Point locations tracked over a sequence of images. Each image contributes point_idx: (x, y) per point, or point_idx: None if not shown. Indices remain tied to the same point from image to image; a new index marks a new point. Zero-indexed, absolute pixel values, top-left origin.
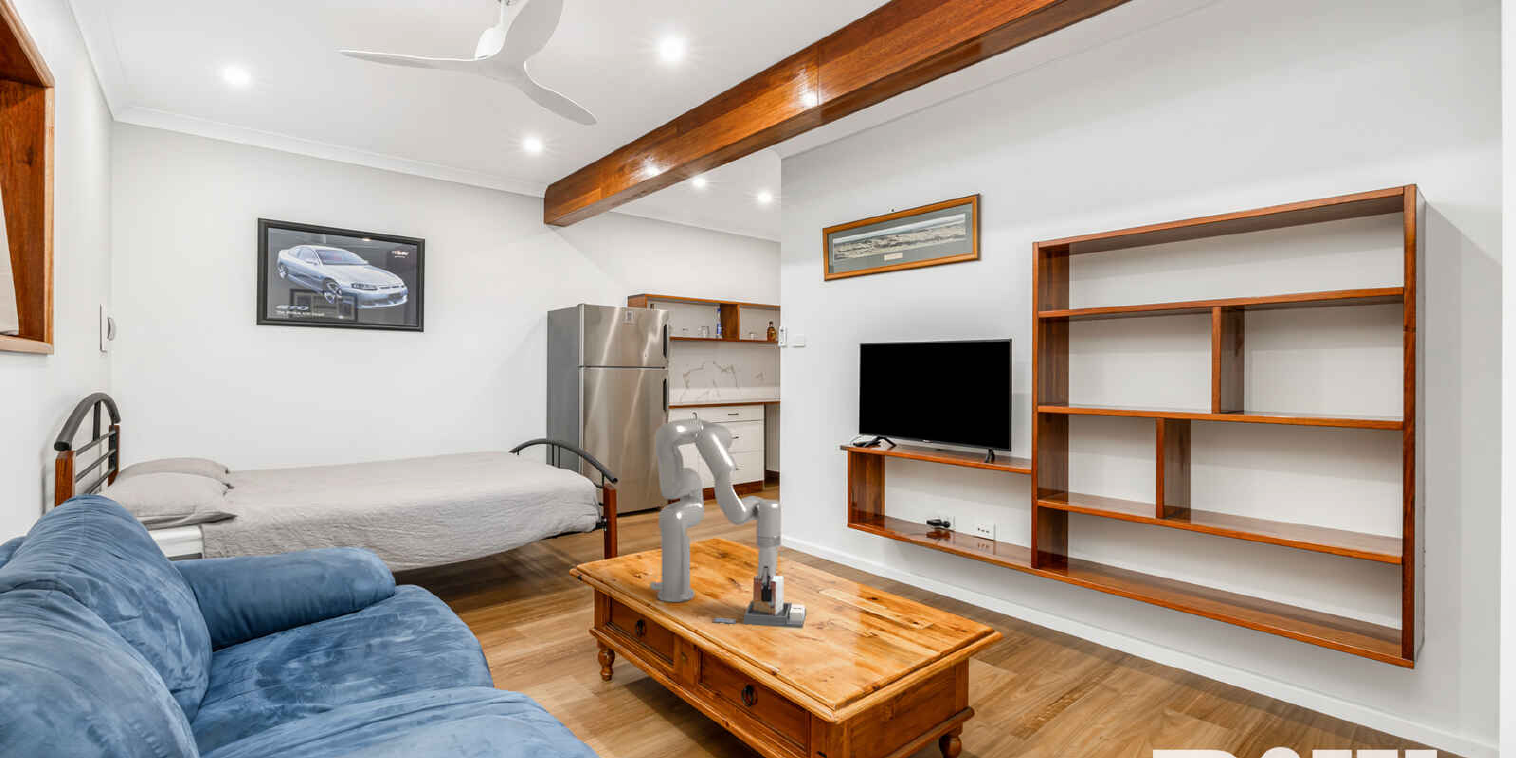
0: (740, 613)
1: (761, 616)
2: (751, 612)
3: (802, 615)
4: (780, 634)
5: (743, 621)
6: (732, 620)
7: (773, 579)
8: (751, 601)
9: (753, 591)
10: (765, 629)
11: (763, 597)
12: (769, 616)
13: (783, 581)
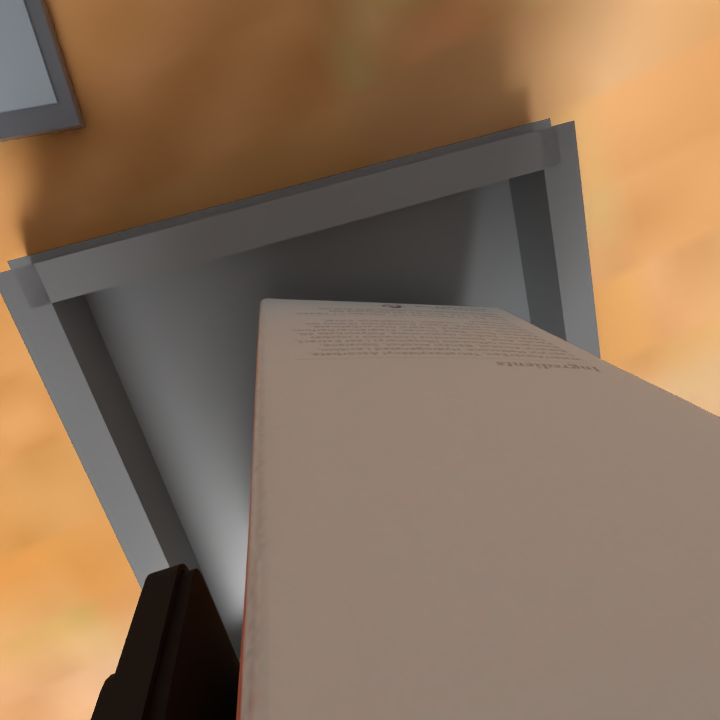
0: (338, 59)
1: (104, 498)
2: (333, 231)
3: None
4: (17, 695)
5: (11, 261)
6: (5, 74)
7: None
8: (542, 141)
9: (256, 400)
10: (43, 535)
11: (99, 700)
12: (142, 588)
13: None
